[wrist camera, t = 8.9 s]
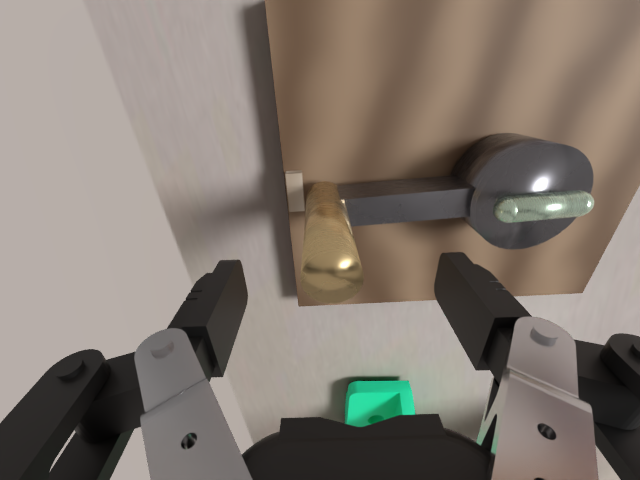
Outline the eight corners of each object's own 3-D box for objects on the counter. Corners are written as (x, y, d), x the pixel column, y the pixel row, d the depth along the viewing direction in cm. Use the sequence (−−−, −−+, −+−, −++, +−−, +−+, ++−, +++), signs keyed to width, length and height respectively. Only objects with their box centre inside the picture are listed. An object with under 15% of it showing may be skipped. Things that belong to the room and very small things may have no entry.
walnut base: (713, -27, 17) (778, -45, 15) (566, 280, 29) (589, 298, 27) (268, -2, 18) (261, -16, 15) (299, 293, 29) (298, 312, 27)
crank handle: (554, 128, 19) (776, 166, 10) (526, 218, 23) (674, 309, 13) (301, 151, 20) (289, 209, 11) (311, 236, 23) (309, 337, 14)
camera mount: (347, 373, 36) (358, 468, 27) (405, 372, 36) (436, 467, 27) (343, 424, 42) (351, 516, 33) (393, 423, 42) (414, 515, 33)
